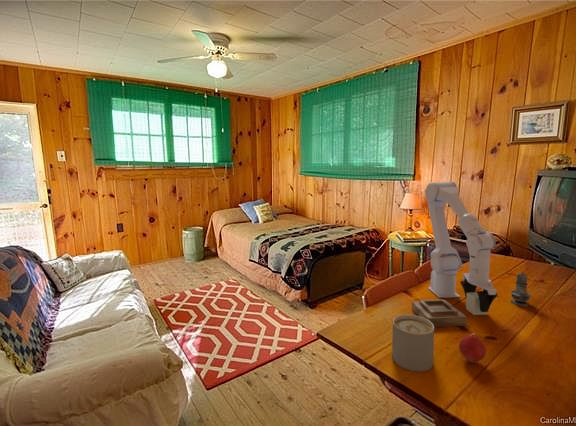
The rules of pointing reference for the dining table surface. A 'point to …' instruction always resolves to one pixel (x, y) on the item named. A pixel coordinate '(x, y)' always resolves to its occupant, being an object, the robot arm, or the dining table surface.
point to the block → (473, 304)
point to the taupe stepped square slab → (439, 313)
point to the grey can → (413, 342)
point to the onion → (472, 348)
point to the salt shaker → (520, 291)
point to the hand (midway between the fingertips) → (476, 306)
